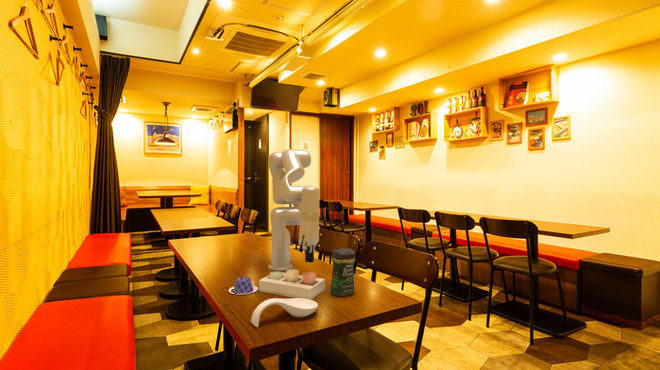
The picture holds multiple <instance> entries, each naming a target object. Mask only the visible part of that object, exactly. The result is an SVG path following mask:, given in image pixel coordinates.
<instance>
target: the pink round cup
mask: <svg viewBox="0 0 660 370" xmlns="http://www.w3.org/2000/svg"><path fill="white" fill-rule="evenodd" d="M302 276H303V284H304V285H311V286H313V285H315V284H316V278H317V277H316V276H317V273H316V272H315V271H304V272H303V273H302Z"/></svg>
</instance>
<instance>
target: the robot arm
mask: <svg viewBox="0 0 660 370" xmlns="http://www.w3.org/2000/svg"><path fill="white" fill-rule="evenodd" d="M311 156H312V155H311V154H310V152H309V151H308V150H305V149H290V148H289V149H285V150H284V151H275V152H271V153H270V154H269V156H268V160H267V161H268V162H267V163H268V169H269V172H270V174H271V180H272V183H271V184H272V186H271V187H272V201H273V203H274V204H275V205H292V206H278V207H274V208H272V209H271V210H270V215H269V219H270V225H271V258H270V259H271V263H269V264H268V267H267V268H268V270H271V271H279V272H282V271H287V270H289V269H294V268H293V267H294V266H293V264H292V263H291V261H293V260H294V257H293V256H291V233H290V231H289V230H288V229H287V227H286V226H298V225H299V231H298V246H302V248H301V249H302V250H304V255H305V256H304V259H305V260H304V262H305V263H310V264H311V263H313V262H315V247H316V246H317V244H318V243H319V241H320V225H319V222H320V189H319V188H318V187H316V186H311V185H291V184H294V183H295V182H297V181H300V180H301V179H302V178H303V177H304V175H305V173H306V171H305V168H308V167H310V165H312V164H311V162H312V157H311Z"/></svg>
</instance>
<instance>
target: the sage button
mask: <svg viewBox="0 0 660 370" xmlns="http://www.w3.org/2000/svg"><path fill="white" fill-rule="evenodd" d="M282 273H283V272H282V271H275V270H273V271H272V272H269V275H270V279H274V280H280V279H282Z"/></svg>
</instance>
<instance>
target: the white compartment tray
mask: <svg viewBox="0 0 660 370" xmlns="http://www.w3.org/2000/svg"><path fill="white" fill-rule="evenodd" d="M325 290H326V279H325V278H320V277H316V284H315V285H313V286H311V285H304V284H303V274H299V281H298V282H296V283H292V282H286V272H282V279H280V280H274V279H270V274H269V275H267V276H265V277H263V278H261V279H259V280H258V292H262V293H268V294H274V295H277V296H285V297H288V298H289V297H290V298H303V299H309V300H313V299H314V298H315V297H317V296H318V295H319V294H321V293H322V292H324V291H325Z"/></svg>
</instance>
